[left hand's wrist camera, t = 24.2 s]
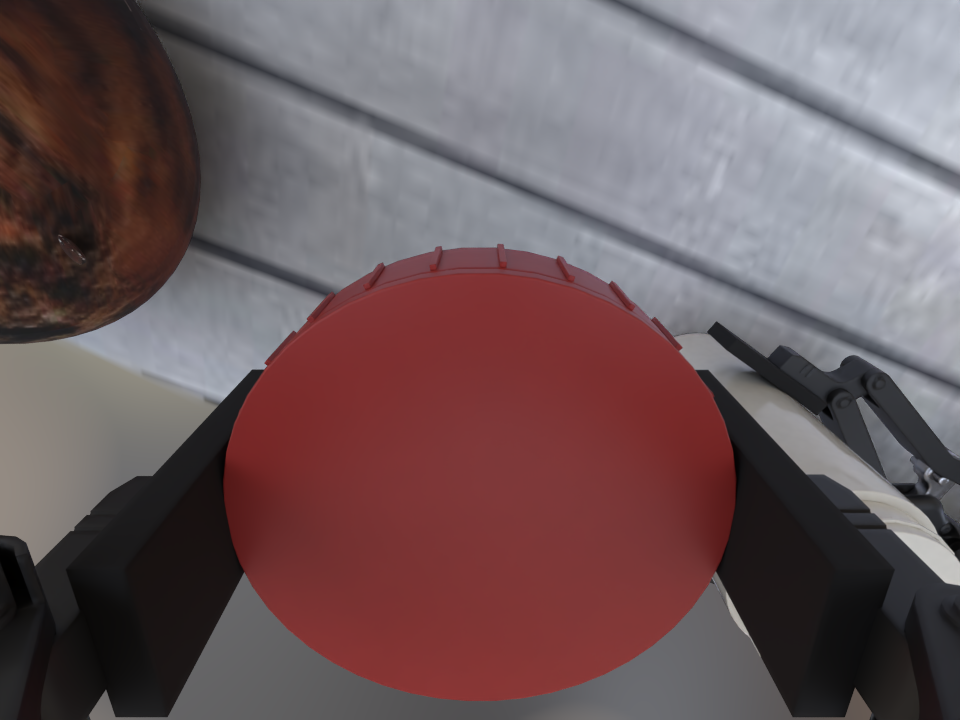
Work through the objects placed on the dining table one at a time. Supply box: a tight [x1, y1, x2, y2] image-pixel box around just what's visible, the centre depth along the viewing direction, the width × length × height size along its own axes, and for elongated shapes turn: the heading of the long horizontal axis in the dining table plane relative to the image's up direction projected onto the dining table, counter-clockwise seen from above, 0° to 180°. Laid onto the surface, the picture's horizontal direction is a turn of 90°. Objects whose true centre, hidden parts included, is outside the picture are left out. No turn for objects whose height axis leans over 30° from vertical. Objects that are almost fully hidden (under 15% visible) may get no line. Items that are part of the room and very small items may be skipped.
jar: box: [674, 333, 960, 655], centre depth 30 cm, size 8×8×19 cm
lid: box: [223, 244, 736, 701], centre depth 11 cm, size 9×9×2 cm
